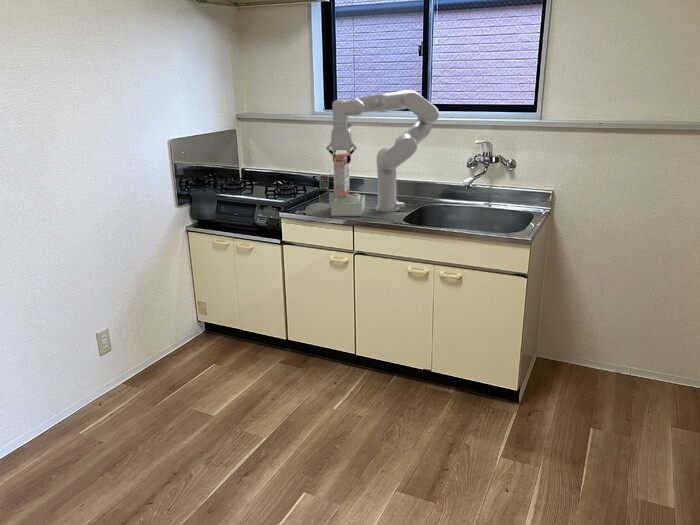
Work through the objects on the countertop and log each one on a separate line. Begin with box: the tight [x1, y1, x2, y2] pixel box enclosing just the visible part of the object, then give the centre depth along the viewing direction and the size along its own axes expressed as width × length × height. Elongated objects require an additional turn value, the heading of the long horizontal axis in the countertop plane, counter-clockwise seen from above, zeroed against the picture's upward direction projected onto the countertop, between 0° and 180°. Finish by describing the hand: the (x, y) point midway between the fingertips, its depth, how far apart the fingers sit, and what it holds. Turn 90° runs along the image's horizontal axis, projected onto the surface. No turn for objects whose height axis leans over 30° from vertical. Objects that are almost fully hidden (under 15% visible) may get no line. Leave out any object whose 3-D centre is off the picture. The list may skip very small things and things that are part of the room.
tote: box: [329, 194, 366, 217], centre depth 290 cm, size 16×18×7 cm
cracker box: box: [333, 152, 350, 199], centre depth 285 cm, size 14×6×21 cm, turn 170°
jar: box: [351, 193, 361, 203], centre depth 289 cm, size 4×4×9 cm
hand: (341, 163), depth 283 cm, fingers closed on cracker box, 6 cm apart
